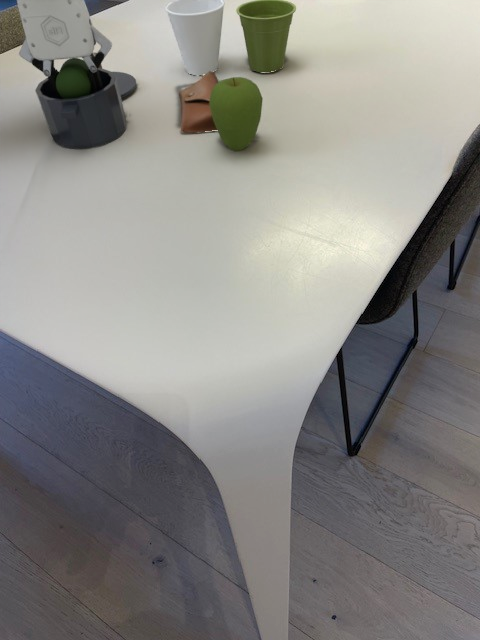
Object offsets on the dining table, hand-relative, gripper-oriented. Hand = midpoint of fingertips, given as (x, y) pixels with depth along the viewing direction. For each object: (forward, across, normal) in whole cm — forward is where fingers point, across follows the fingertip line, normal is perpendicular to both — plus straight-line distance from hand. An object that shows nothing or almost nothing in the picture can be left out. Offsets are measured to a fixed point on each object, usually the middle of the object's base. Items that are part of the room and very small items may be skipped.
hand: (79, 94), depth 86 cm
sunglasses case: (+7, +21, +4) cm, 22 cm away
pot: (+7, 0, 0) cm, 7 cm away
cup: (+7, +21, +24) cm, 33 cm away
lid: (+6, 0, +17) cm, 18 cm away
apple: (+7, +27, -11) cm, 30 cm away
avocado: (+1, 0, 0) cm, 1 cm away
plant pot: (+7, +35, +22) cm, 42 cm away
